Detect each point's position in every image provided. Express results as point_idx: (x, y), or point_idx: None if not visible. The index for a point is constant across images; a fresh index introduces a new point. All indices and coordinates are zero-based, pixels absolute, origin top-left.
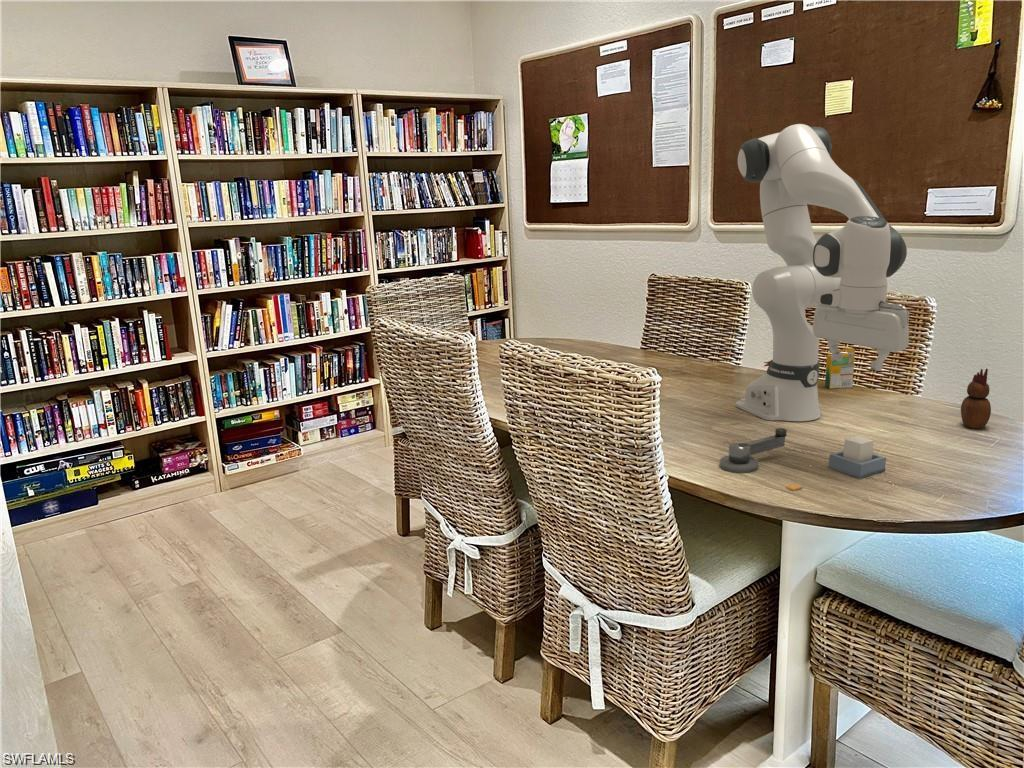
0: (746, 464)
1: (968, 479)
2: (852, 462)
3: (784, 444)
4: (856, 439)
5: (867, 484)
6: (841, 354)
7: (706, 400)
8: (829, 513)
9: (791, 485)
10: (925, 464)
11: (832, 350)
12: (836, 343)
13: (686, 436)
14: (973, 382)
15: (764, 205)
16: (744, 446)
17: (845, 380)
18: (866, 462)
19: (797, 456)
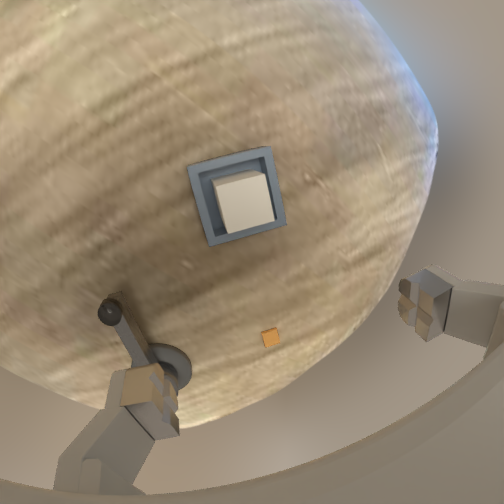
0: (178, 369)
1: (345, 53)
2: (265, 230)
3: (120, 293)
4: (242, 209)
5: (303, 223)
6: (159, 403)
7: None
8: (352, 329)
9: (266, 340)
10: (261, 51)
11: (141, 457)
12: (125, 484)
13: (28, 365)
14: None
15: None
16: None
17: None
18: (280, 206)
19: (133, 259)
